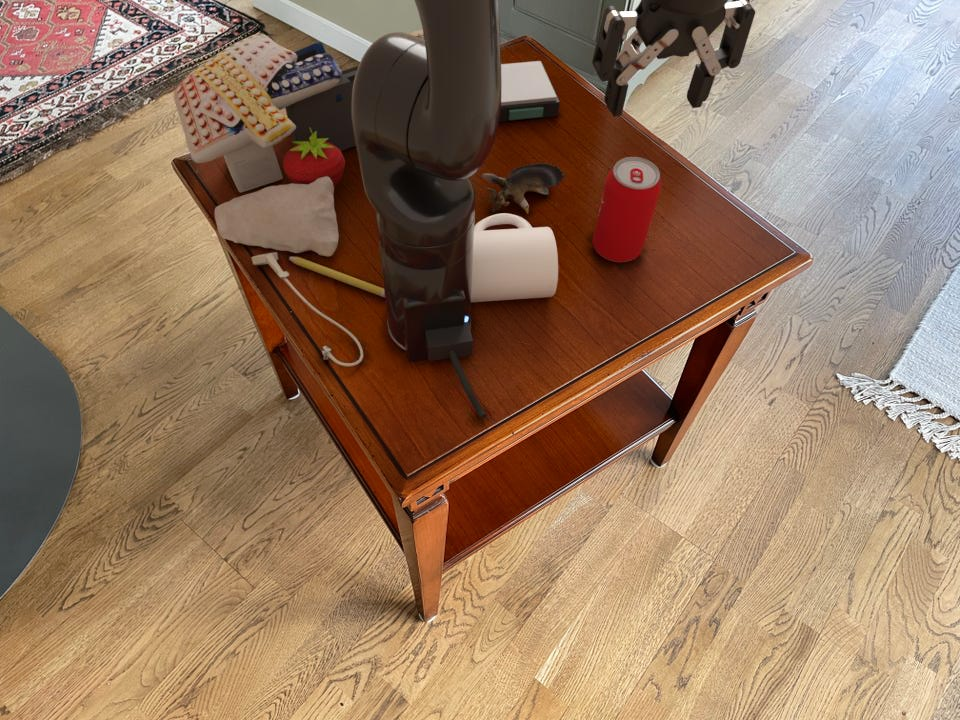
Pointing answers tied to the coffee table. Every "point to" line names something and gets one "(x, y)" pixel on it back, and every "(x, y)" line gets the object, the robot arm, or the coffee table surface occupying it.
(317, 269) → the pencil
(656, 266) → the coffee table surface
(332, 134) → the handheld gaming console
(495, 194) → the eagle figurine
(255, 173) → the product carton
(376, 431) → the coffee table surface
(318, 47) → the blue flat block
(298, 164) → the red tomato pincushion
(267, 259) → the white cable
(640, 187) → the beverage can
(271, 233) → the decorative stone
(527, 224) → the mug
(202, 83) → the pill blister packs
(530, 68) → the scale
